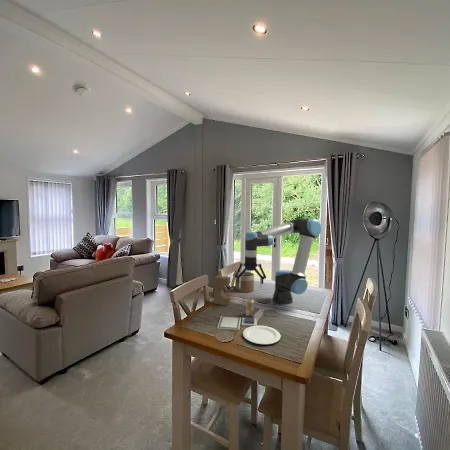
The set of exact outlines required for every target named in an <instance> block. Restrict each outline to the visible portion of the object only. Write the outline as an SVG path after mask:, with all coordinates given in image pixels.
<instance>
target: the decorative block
mask: <svg viewBox="0 0 450 450" xmlns="http://www.w3.org/2000/svg"><path fill="white" fill-rule="evenodd" d="M230 284H231V277H230V276H225V275H219V274H218V275H217V274H216V275H215V276H214V277H213V304H215V305H219V306H225V307H227V306H229V305H230V304H231V297H230V296H227V294H225V292H224V289H225V288H224V287H225V286H229V285H230Z"/></svg>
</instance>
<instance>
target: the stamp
mask: <svg viewBox="0 0 450 450" xmlns="http://www.w3.org/2000/svg"><path fill="white" fill-rule="evenodd" d="M254 313H255V299H247V298H246V300H245V317H252V318H255V316H254V315H255V314H254Z"/></svg>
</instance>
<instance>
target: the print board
mask: <svg viewBox="0 0 450 450" xmlns="http://www.w3.org/2000/svg"><path fill="white" fill-rule="evenodd" d="M241 323H242V317H240V316H227V315H221V316H220V319H219V321H218V324H217V327H216V328H217V329H218V330H230V331H240V328H241Z"/></svg>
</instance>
